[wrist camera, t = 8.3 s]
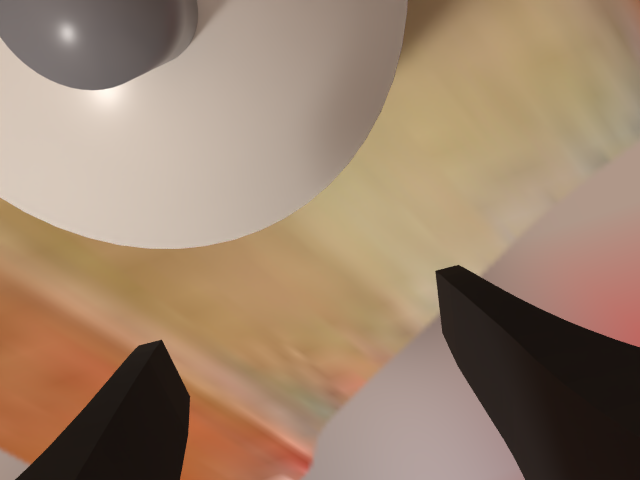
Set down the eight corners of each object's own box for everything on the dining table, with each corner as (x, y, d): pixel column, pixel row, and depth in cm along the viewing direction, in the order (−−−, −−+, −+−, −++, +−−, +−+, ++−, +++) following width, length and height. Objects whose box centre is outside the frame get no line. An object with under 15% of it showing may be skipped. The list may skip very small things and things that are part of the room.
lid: (459, -283, 11) (635, -548, 6) (354, 252, 17) (393, 351, 12) (-275, -499, 8) (-1108, -1300, 3) (-82, 221, 15) (-263, 329, 10)
